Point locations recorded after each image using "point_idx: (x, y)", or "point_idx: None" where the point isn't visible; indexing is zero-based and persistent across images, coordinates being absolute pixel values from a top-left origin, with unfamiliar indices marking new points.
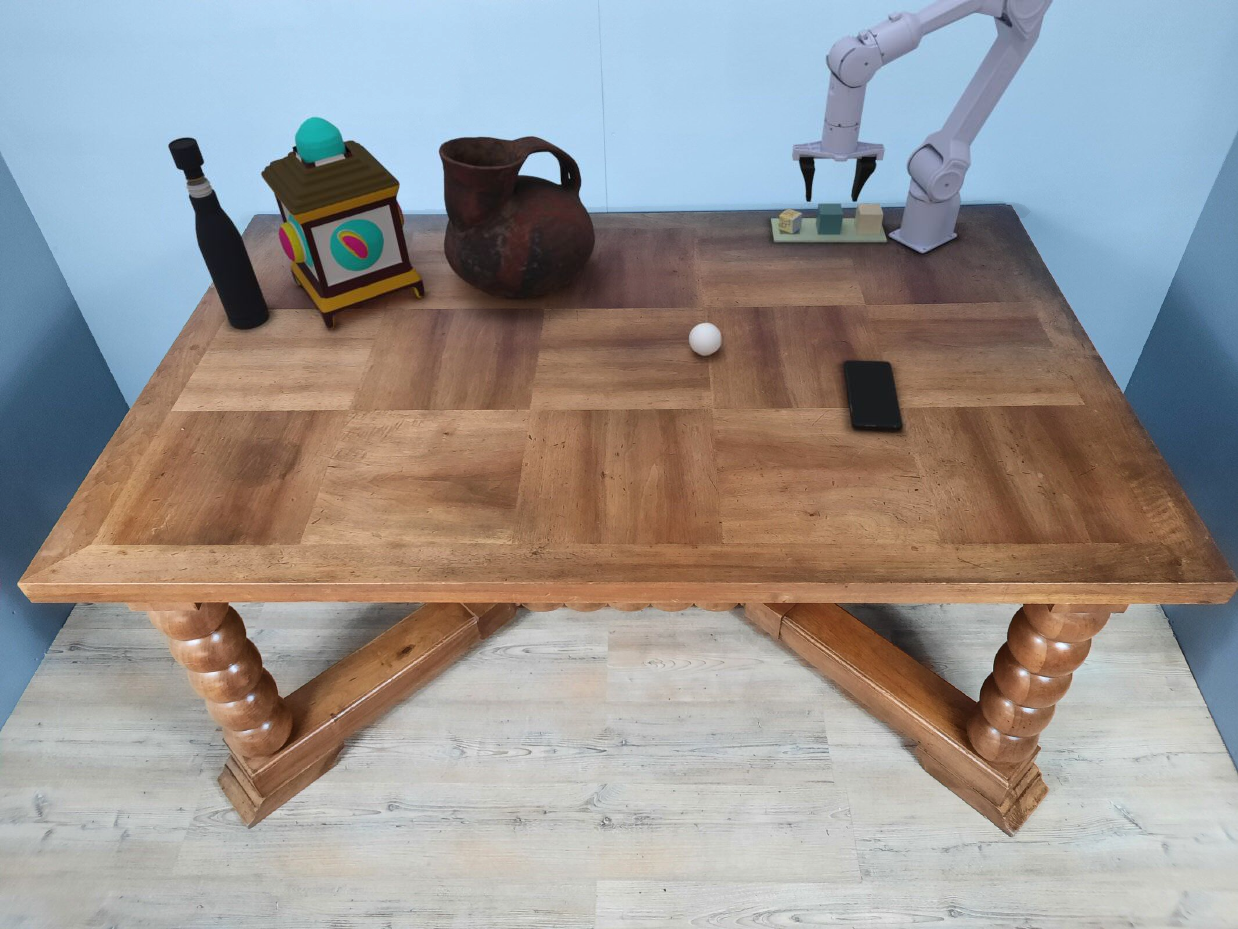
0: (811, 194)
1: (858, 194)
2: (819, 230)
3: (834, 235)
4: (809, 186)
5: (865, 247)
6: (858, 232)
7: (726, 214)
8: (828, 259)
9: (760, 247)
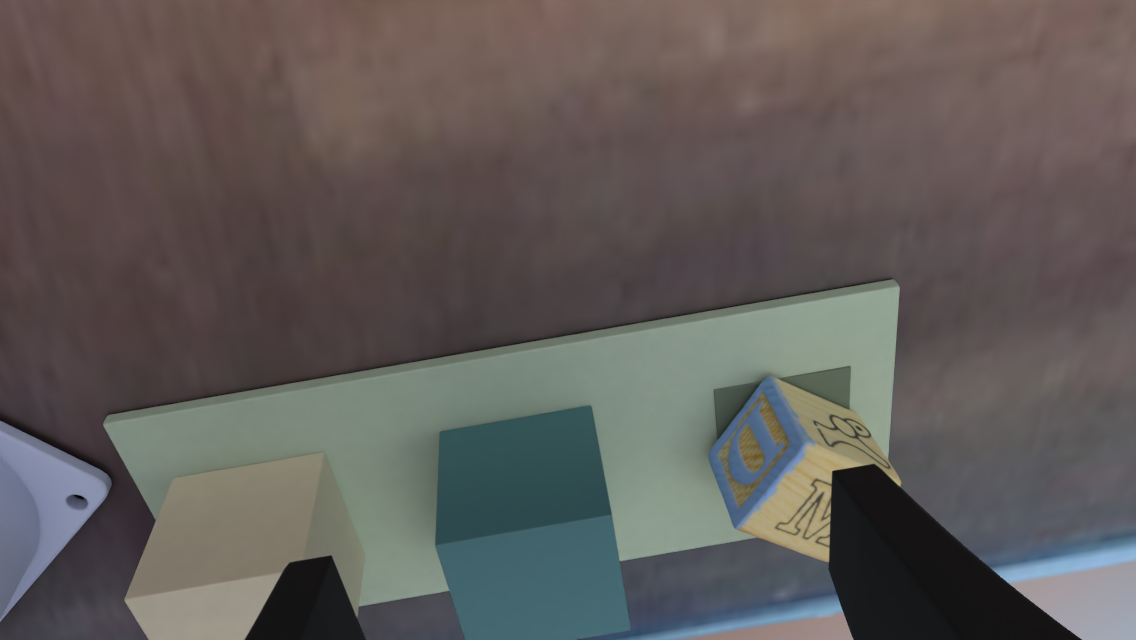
0: (883, 530)
1: (251, 636)
2: (588, 426)
3: (477, 414)
4: (991, 614)
5: (240, 330)
6: (315, 463)
7: (1132, 512)
8: (496, 121)
9: (1001, 198)
